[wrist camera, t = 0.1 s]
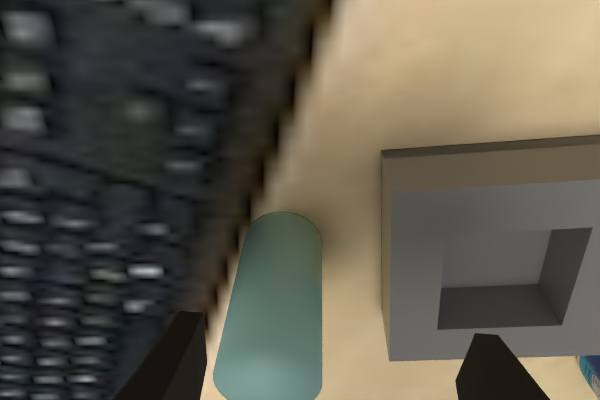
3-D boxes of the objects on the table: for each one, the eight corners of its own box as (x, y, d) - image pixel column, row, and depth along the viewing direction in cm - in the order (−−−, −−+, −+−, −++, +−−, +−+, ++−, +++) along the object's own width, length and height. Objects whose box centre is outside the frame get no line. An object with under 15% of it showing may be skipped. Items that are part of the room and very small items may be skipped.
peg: (324, 271, 24) (325, 412, 17) (251, 274, 24) (224, 413, 18) (318, 209, 22) (317, 343, 15) (238, 214, 22) (202, 347, 15)
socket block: (566, 301, 24) (599, 355, 22) (381, 308, 25) (389, 361, 22) (618, 133, 19) (672, 174, 16) (381, 150, 20) (391, 192, 17)
